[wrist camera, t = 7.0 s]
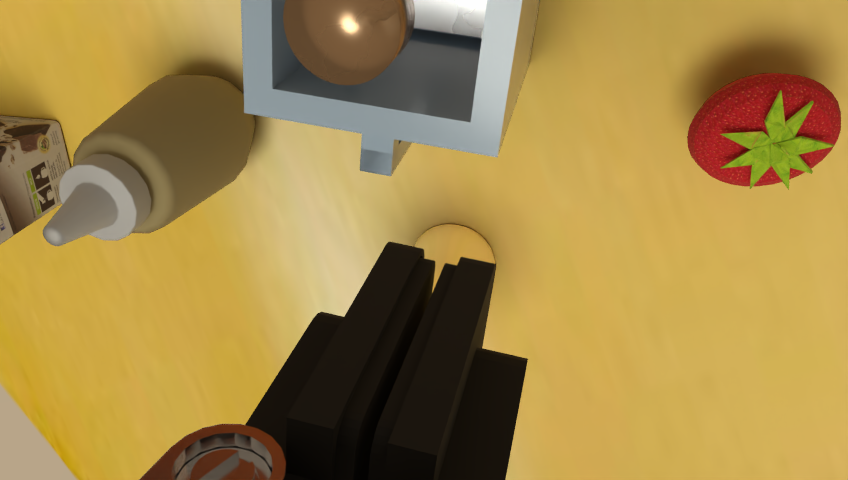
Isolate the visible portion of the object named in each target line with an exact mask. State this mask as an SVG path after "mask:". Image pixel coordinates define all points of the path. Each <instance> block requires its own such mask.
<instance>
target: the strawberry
mask: <svg viewBox="0 0 848 480" xmlns="http://www.w3.org/2000/svg"><path fill="white" fill-rule="evenodd" d="M840 130H841V112H840V108H839V105H838V101H837V100H836V98H835V97H834V95H833V94H832V92H830V91H829V90H828V89H827V88H826V87H825V86H824V85H822V84H820V83H818V82H816V81H814V80H812V79H809V78H806V77H802V76H799V75H791V74H781V73H763V74H757V75H752V76H748V77H745V78H742V79H739V80H736V81H734V82H732V83H730V84H728V85H726V86H724V87H723V88H721V89H720V90H718V91H717V92H715V93H714V94H713V95H712V96H711V97H710V98H709V99H707V100H706V102H705V103H704V104H703V106H702V107H701V108H700V110H699V111H698V112H697V114H696V115H695V116H694V119H693V121H692V123H691V125H690V127H689V132H688V137H687V138H688V148H689V151H690V154H691V156H692V158H693V159H694V160H695V162H696V163H697V164H698V165H699V166H700V167H701V168H702V169H703V170H704V171H705V172H707V173H708V174H709V175H710V176H712V177H714V178H716V179H718V180H720V181H722V182H726V183H729V184H732V185H740V186H750V189H751V188H752V186H763V185H770V184H775V183H779V182H783V183H784V184H785V185H786V187H787V188H788V190H789V179H791V178H794V177H796V176H799V175H801V174H802V173H804V172H808V173H811V174H812V172H813V171H812V170H811V168H813V167H814V166H815V165H816V164H818V163H819V162H820V161H822V160H823V159H824V158H825V157H826V155H827V154H828V153H829V152H830V151H831V150H832V148H833V146H834V145H835V143H836V141H837V139H838V136H839V133H840Z"/></svg>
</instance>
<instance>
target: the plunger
mask: <svg viewBox="0 0 848 480" xmlns="http://www.w3.org/2000/svg"><path fill="white" fill-rule="evenodd" d="M486 4H487V0H285V4H284V12H283V22H284V29H285V34H286V37H287V41H288V43H289V45H290V47H291V49H292V51H293V53H294V54H295V56H296V57H297V59H298V60H299V61H300V62H301V64H302V65H303V66H304V67H305V68H306V69H308V70H309V71H310V72H311V73H313V74H314V75H316V76H317V77H319V78H321V79H323V80H325V81H327V82H330V83H334V84H338V85H357V84H362V83H365V82H368V81H370V80H372V79H374V78H375V77H377V76H378V75H380V74H381V73H382V72H383V71H384V70H385V69H386V68H387V67H388V66H389V65H390V64H391V63H392V61H393V60H394V59H395V58H396V57H397V56H398V55H399V54H400V53H401V52H402V50H403V49H404V48H405V47H406V45H407V43H408V42H409V40H410V37H411V35H412V32H413V28H421V29H427V30H434V31H440V32H447V33H453V34H460V35H467V36H473V37H480V38H482V34H483V26H484V19H485V11H486Z"/></svg>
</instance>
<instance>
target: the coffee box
mask: <svg viewBox="0 0 848 480" xmlns="http://www.w3.org/2000/svg"><path fill="white" fill-rule="evenodd" d="M69 168H70V164H69V160H68V156H67V152H66V148H65V144H64V139H63V135H62V131H61V127H60V124H59V123H58V122H57V121H53V120H43V119H32V118H20V117H10V116H0V244H1V243H3V242H5V241H6V240H8V239H9V238H11V237H12V236H13V235H15V234H16V233H18V232H19V231H21V230H22V229H24V228H25V227H27V226H28V225H30V224H31V223H33V222H34V221H36V220H37V219H39V218H41V217H42V216H43V215H45V214H46V213H48V212H49V211H51V210H52V209H54V208H55V207H57V206H58V205H60V204H61V203H62V202H61V199H60V197H59V186H60V180H61V178H62V176H63V175H64V173H65V171H66V170H67V169H69Z"/></svg>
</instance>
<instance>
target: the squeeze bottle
mask: <svg viewBox="0 0 848 480" xmlns="http://www.w3.org/2000/svg"><path fill="white" fill-rule="evenodd" d="M254 129H255V119H254V115H253V114H248V113H244V94H243V93H242V92H241V91H240V90H239V89H238V88H236V87H235V86H234V85H233V84H232V83H230V82H229V81H226V80H223V79H221V78H218V77H215V76H203V75H168V76H165V77H163V78H161V79H160V80H158V81H156V82H154V83H152V84H151V85H149V86H148V87H146V88H145V89H144V90H143V91H142V92H140V93H139V94H138V95H137V96H135V97H134V98H133V99H132V100H131V101H129V102H128V103H127V104H126V105H124V106H123V107H122V108H121V109H120V110H118V111H117V112H116V113H115V114H113V115H112V116H111V117H110V118H108V119H107V120H106V121H105V122H104V123H102V124H101V125H100V126H99V127H97V128H96V129H95V130H94V131H93V132H91V133H90V134H89V135H88V136H86V137H85V138H84V139H83V140H82V141H81V143H80V145H79V147H78V148H77V150H76V152H75V154H74V162H73V166H72V167H71V168H69V169H67V170H66V171H65V173H64V175H63V176H62V178H61V180H60V186H59V197H60V199H61V202H62V206H61V207H60V209H59V210H58V211H57V212H56V214H55V215H54V216H53V217H52V219H51V220H50V221H49V222H48V224H47V225H46V226H45V227H44V229H43V235H44V238H45V239H46V240H47V242H49V243H50V244H52V245H54V246H61V245H63V244H66V243H68V242H70V241H73V240H75V239H78V238H80V237H83V236H85V235H88V234H89V235H91V236H94V237H96V238H99V239H102V240H120V239H122V238H124V237H126V236H128V235H130V234H131V233H151V232H153V231H155V230H158V229H160V228H162V227H164V226H166V225H168V224H169V223H171V222H172V221H174V220H175V219H177V218H178V217H180V216H181V215H183V214H184V213H186V212H187V211H189V210H190V209H192V208H193V207H195V206H196V205H198V204H199V203H201V202H202V201H204V200H205V199H207V198H208V197H210V196H211V195H213V194H214V193H216V192H217V191H219V190H220V189H222V188H223V187H225V186H226V185H228V184H229V183H231V182H233V181H234V180H235V179H236V177H237V176H238V175H239V173H240V172H241V171H242V170H243V168H244V167H245V166H246V163H247V159H248V155H249V151H250V147H251V143H252V139H253V134H254Z"/></svg>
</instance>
